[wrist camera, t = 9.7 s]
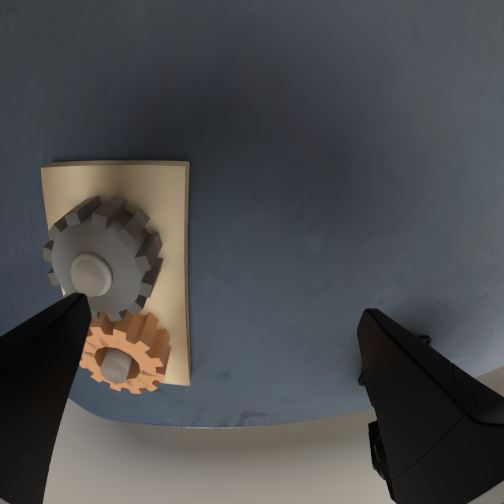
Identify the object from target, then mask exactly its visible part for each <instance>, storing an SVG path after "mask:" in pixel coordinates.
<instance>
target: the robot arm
mask: <svg viewBox="0 0 504 504" xmlns="http://www.w3.org/2000/svg"><path fill="white" fill-rule="evenodd" d="M91 319H92V314H91V310H90V306H89V302H88V298H87V296H86V294H84V293H79V292H74V293H72V294H70V295H68V296H67V297H65V298H63V299H62V300H60V301H58V302H56V303H55V304H53V305H51V306H50V307H48V308H46V309H45V310H43V311H41V312H40V313H38V314H36V315H35V316H33V317H31V318H30V319H28V320H27V321H25V322H23V323H22V324H20V325H18V326H17V327H15V328H14V329H12V330H10V331H9V332H7V333H6V334H4V335H3V336H1V337H0V504H43V498H44V492H45V487H46V481H47V476H48V472H49V465H50V462H51V457H52V453H53V449H54V444H55V441H56V437H57V433H58V429H59V426H60V422H61V419H62V415H63V412H64V408H65V405H66V402H67V399H68V396H69V392H70V389H71V386H72V383H73V380H74V377H75V375H76V372H77V369H78V366H79V363H80V360H81V357H82V353H83V350H84V346H85V342H86V338H87V334H88V330H89V327H90V323H91ZM357 337H358V342H359V347H360V352H361V358H362V363H363V369H364V371H363V373H362V375H361V377H360V378H359V380H358V382H359V385H360V386H365V388H366V391H367V393H368V396H369V399H370V402H371V405H372V406H373V407H374V409H375V412H376V416H377V420H376V421H373V422H371V423H369V424H368V427H369V440H370V448H371V458H372V464H373V468H374V470H376V471H377V472H378V474H379V475H380V476H381V477H382V478H383V479H384V480H386V483H387V486H388V490H389V493H390V497H391V499H392V500H393V501H395V502H396V504H504V397H503V396H501V395H500V394H498V393H496V392H495V391H493V390H492V389H490V388H489V387H487V386H485V385H484V384H482V383H481V382H479V381H478V380H476V379H475V378H473V377H471V376H470V375H469V374H467V373H466V372H464V371H463V370H462V369H460V368H459V367H457V366H456V365H455V364H453V363H451V361H449V360H448V359H447V358H445V357H444V356H442V355H441V354H440V353H438V352H437V351H436V350H434V349H433V348H431V347H430V346H429V345H430V343H431V341H432V339H431V338H430V336H421V337H416V336H415V335H413V334H412V333H411V332H409V331H408V330H406V329H405V328H404V327H402V326H401V325H399V324H398V323H397V322H395V321H394V320H392V319H391V318H390V317H388V316H387V315H385V314H384V313H382V312H381V311H380V310H378V309H376V308H367V309H365V310H364V312H363V314H362V317H361V319H360V322H359V325H358V328H357Z"/></svg>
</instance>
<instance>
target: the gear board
mask: <svg viewBox="0 0 504 504" xmlns="http://www.w3.org/2000/svg"><path fill="white" fill-rule="evenodd" d="M189 168H190V162H188V161H157V160H102V161H73V162H54V163H50V164H48V165H46V166H44V167H42V168H41V176H42V186H43V195H44V203H45V210H46V217H47V223H48V229H49V232H48V233H47V235H48V236H49V237H50V241H49V242H48V243H47V244H46V245H45V246H44V247H43V260H45V261H48V262H50V263H52V266H53V268H52V269H51V270H50V271H49V272H48V273H47V275H48V277H49V279H50V281H51V283H52V285H53V286H55V285H61V288H62V291H63V295H64V296H63V298H65V297H67V296H68V295H70V294H72V293H74V292H79V293H84V294H86V296H87V298H88V302H89V306H90V310H91V314H92V318H94V319H98V317H99V315H100V313H107V315H108V317H109V319H110V321H111V322H113V321H123V319H124V316H125V314H126V312H127V310H128V311H129V312H130V313H131V314H133V315H134V316H135V315H136V314H138V313H139V314H141V315H143V316H145V315H147V314H148V313H149V312H150V313H152V314H153V315H154V316H155V317H156V318H158V319H159V321H158V324H157V329H158V330H162V329H167V331H168V333H169V336H170V341H169V345H168V346H171V350H170V355H169V359H168V364H167V369H166V374H165V378H164V381H163V382H161V381H159V382H160V383H168V384H177V385H186V386H190V382H191V374H192V372H191V355H190V335H189V308H188V195H189ZM63 298H62V299H63ZM132 359H133V357H132V356H131V355H130V354H128V353H126V352H124V351H122V350H120V349H118V348H112V347H109V349H108V351H107V353H106V356H105V358H104V361H103V363H102V366H101V368H100V373H101V375H102V376H103V377H104V378H105V379H107V380H108V381H110V382H113V383H117V384H120V383H124V382H125V381H126V377H127V374H128V371H129V368H130V365H131V362H132ZM89 371H91V370H90V369H89Z"/></svg>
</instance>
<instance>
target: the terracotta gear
mask: <svg viewBox="0 0 504 504" xmlns="http://www.w3.org/2000/svg"><path fill="white" fill-rule="evenodd" d="M158 321H159V319H158V318H156V317H155V316H154V315H153V314H152V313H150V312H149V313H148V314H147V315H145V316H143V315H141V314H139V313H138V314H136V315H135V316H134V315H133V314H131V313H130V312H129V311H128V310H127V312H126V314H125V316H124V319H123V321H113V322H111V321H110V319H109V317H108V315H107V313H100V315H99V317H98V319H94V318H92V319H91V323H90V327H89V330H88V334H87V338H86V342H85V346H84V350H83V353H82V357H81V360H80V363H79V364H80V366H81V367H82V368H89V369H90V370H91V371H92V374H91V377H92V378H94V379H95V380H97V381H98V382H101V381H102V380H104V381H106V382H108V383H110V388H112V389H115V390H118V391H121V388H128V389H129V390H130V391H131V393H142V390H143V388H144V387H145V388H147V389H148V390H150V391H153V390H155V389H157V388H158V386H159V381H161V382H163V381H164V378H165V374H166V369H167V364H168V359H169V355H170V350H171V346H168V345H169V341H170V336H169V333H168V331H167V329H162V330H158V329H157V324H158ZM109 347H112V348H118V349H120V350H122V351H124V352H126V353H128V354H130V355H131V356H132V357H133V359H132V362H131V365H130V368H129V371H128V374H127V377H126V381H125V382H124V383H120V384H117V383H113V382H110V381H108V380H107V379H105V378H104V377H103V376H102V375H101V373H100V368H101V366H102V363H103V361H104V358H105V356H106V353H107V351H108V349H109Z"/></svg>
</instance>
